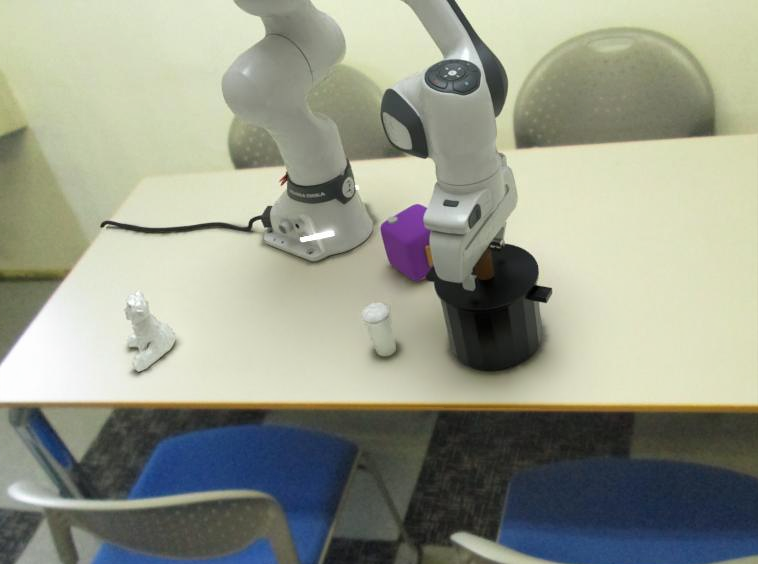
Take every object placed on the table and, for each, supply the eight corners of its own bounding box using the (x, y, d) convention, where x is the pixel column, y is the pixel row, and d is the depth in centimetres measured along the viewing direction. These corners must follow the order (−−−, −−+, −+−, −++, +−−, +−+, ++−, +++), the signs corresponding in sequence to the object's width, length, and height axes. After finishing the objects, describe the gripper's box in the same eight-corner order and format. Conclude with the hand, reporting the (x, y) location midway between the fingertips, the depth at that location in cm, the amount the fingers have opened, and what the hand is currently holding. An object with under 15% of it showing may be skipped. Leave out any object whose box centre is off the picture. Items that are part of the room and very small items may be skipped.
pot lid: (513, 324, 113) (509, 296, 109) (417, 305, 120) (410, 277, 116) (555, 257, 121) (553, 228, 117) (463, 242, 128) (458, 215, 124)
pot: (536, 384, 121) (528, 321, 112) (421, 356, 129) (405, 297, 120) (571, 321, 128) (567, 258, 120) (460, 299, 137) (449, 239, 128)
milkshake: (402, 359, 130) (388, 312, 122) (370, 359, 131) (355, 313, 124) (407, 340, 133) (394, 293, 125) (376, 340, 134) (362, 294, 127)
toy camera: (474, 247, 147) (466, 200, 139) (425, 289, 141) (414, 242, 134) (431, 231, 153) (421, 185, 145) (382, 271, 147) (369, 225, 140)
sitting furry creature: (129, 343, 146) (97, 292, 137) (174, 325, 147) (146, 273, 139) (136, 374, 140) (104, 323, 131) (183, 355, 141) (154, 302, 132)
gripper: (482, 143, 116) (494, 223, 126) (416, 226, 105) (435, 307, 114) (523, 147, 113) (532, 229, 123) (459, 232, 102) (474, 314, 112)
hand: (484, 267), depth 119 cm, fingers open, 8 cm apart
